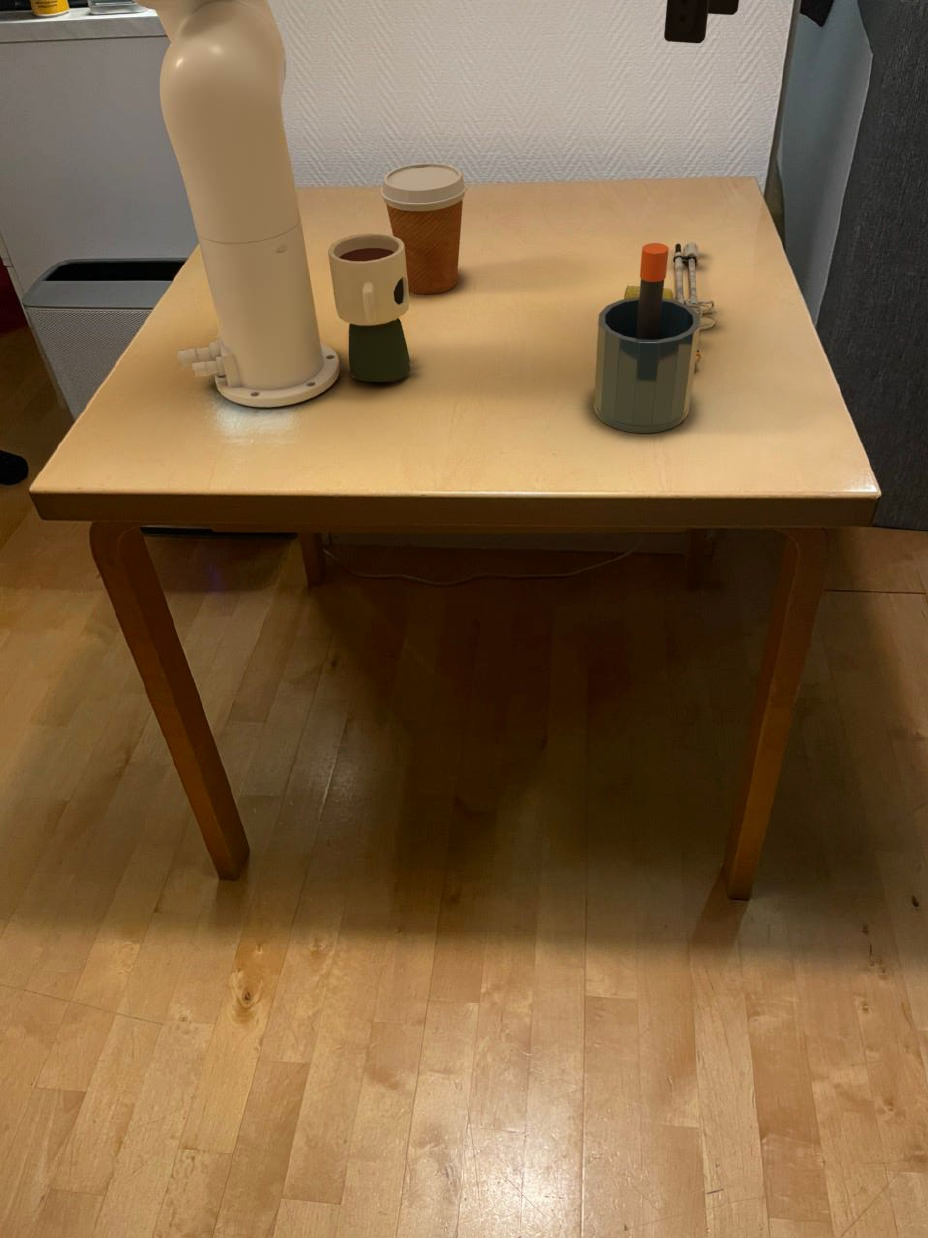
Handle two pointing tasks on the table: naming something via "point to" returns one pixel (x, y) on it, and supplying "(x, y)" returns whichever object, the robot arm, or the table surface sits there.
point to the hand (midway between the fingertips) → (701, 26)
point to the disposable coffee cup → (427, 222)
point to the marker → (651, 290)
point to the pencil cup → (645, 367)
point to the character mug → (372, 303)
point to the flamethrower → (693, 302)
